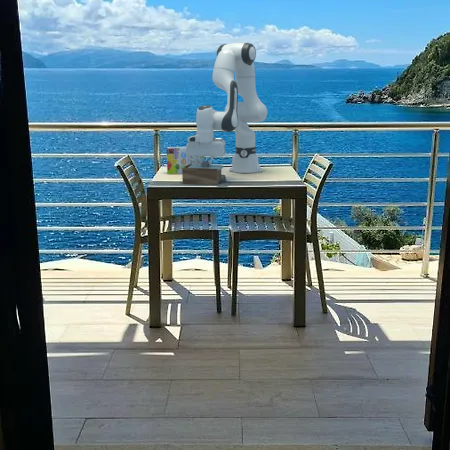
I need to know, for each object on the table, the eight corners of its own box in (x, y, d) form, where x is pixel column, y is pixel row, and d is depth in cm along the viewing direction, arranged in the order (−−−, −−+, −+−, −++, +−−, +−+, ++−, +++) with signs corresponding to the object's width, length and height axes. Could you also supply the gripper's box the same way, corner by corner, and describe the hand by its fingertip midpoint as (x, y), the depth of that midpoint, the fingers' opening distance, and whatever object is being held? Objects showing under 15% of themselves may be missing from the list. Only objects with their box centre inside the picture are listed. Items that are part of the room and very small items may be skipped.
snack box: (204, 172, 333) (204, 146, 329) (204, 174, 327) (204, 147, 323) (167, 172, 332) (166, 146, 328) (167, 174, 327) (166, 147, 323)
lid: (192, 166, 308) (192, 159, 307) (223, 167, 305) (223, 160, 304) (187, 169, 299) (187, 162, 298) (219, 170, 296) (219, 163, 295)
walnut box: (188, 179, 311) (188, 164, 309) (221, 180, 308) (221, 165, 306) (182, 183, 300) (182, 167, 298) (216, 184, 297) (216, 168, 295)
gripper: (226, 137, 299) (226, 164, 302) (187, 136, 303) (188, 163, 306) (223, 139, 293) (224, 166, 296) (184, 138, 297) (185, 165, 300)
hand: (205, 164), depth 301 cm, fingers closed on lid, 3 cm apart
